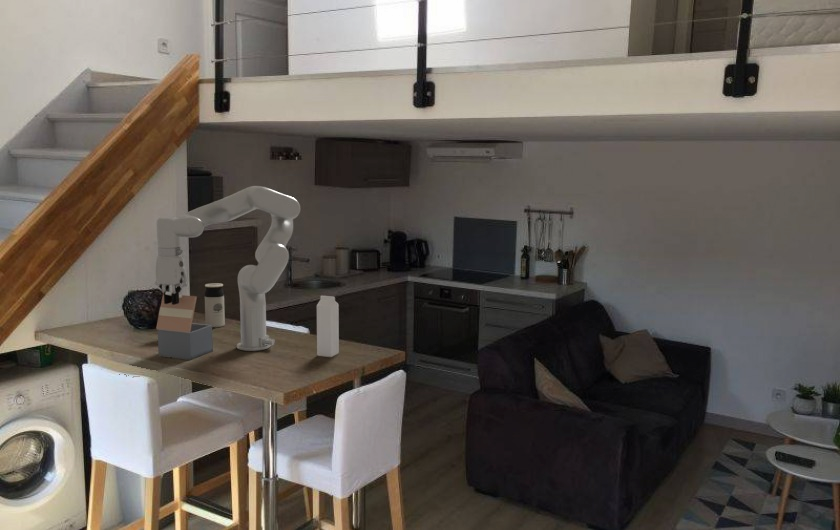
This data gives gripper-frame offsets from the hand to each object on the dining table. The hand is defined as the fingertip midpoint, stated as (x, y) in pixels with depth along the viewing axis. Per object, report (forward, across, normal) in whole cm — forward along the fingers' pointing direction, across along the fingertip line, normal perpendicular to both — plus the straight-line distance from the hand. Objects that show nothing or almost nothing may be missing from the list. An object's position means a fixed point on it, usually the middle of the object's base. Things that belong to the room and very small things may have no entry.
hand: (171, 303), depth 249 cm
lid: (+4, 0, -3) cm, 5 cm away
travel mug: (+21, +17, -49) cm, 56 cm away
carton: (+20, 0, -7) cm, 21 cm away
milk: (+21, -49, -25) cm, 59 cm away
